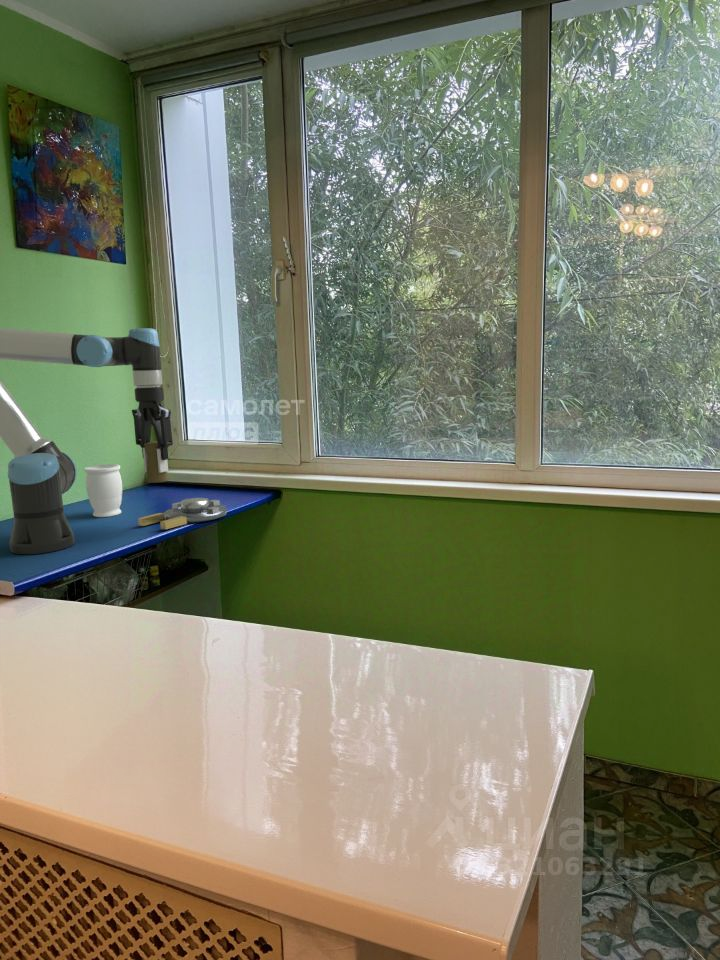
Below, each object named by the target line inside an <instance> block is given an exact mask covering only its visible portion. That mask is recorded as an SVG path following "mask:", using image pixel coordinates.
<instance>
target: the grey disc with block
mask: <svg viewBox="0 0 720 960" xmlns="http://www.w3.org/2000/svg"><path fill="white" fill-rule="evenodd" d="M171 506H172V508H170V509H169V508H168V509H167V510H165V511H164V512H158V513H154V514H149V515H146V516H142V517H137V520H138V521H137V523H138V526H142V527H144V526H148V525H152V524H156V523H159V522H160V523H159V524H160V529H161V530H168V529H172V528H176V527H180V526H183V525H187V524H189V523H190V524H191V523H199V522H207V521H212V520H213V521H214V520H216V519H221V518H222V517H225V516H226V515H227V506H225V505H222V504H221V502H220V500H219V499H211V500H209V498H205V497H191V498H185V499H183V500H180V502H179V501H178V502H173V503H171Z"/></svg>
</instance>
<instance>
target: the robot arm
mask: <svg viewBox="0 0 720 960" xmlns="http://www.w3.org/2000/svg"><path fill="white" fill-rule="evenodd" d="M160 348H161V346H160V340H159V333H158V331H157V330H156V329H154V328H149V327H148V328H147V327H146V328H145V327H143V328H131V329H129V331H128V336H123V337H122V336H121V337H118V336H117V337H116V336H113V337H109V336H108V337H106V336H101V335H96V334H90V335H88V334H74V333H65V332H64V333H63V332H55V331H54V332H51V331H43V330H30V329H16V328H5V327H0V360H6V361H7V360H8V361H23V362H33V363H35V362H36V363H46V364H62V365H74V366H75V365H76V366H85V367H87V366H88V367H92V368H101V367H117V366H131V367H132V377H133V378H132V379H133V386H135V389H134V399H135V401H136V402H137V403H138V406H137V407H138V408H135V409H132V410H131V414H132V416H133V425H134V437H135V445H137V446H139V447H140V448H141V452H142V453H141V454H142V458H143V464H144V465H143V466H144V471H145V472H147V453H146V452H145V445H146V443H148V442H151V438H152V437H151V436H152V427H153V430H154V436H155V438H156V441H157V443H158V446H159V447H157V458H158V469H159V472H166V471H167V472H169V464H168V463H169V462H168V459H169V454H168V453H169V452H168V448H169V447H171V446H173V434H172V433H173V432H172V424H171V413H172V411H171V409H170V408H169V409H168V408H164V406H163V403H162V401H163V400H165V393H164V387H163V386H161V385H163V384H164V382H163V373H162V360H161V349H160ZM0 438H1V440H2V441H3V442H4V444H5V445H6V447H7V448H8V449H9V450H10V451H11V453H12V454H13V456H14V458H12V459H11V460H10V461H9V462H8V464H7V478H8V482H9V491H10V497H11V503H12V505H11V506H12V511H13V512H12V513H13V526H12V531H11V534H10V535H11V536H10V539H9V550H10V552H11V553H13V554H18V555H36V554H37V555H39V554H45V553H50V552H51V553H52V552H57V551H61V550H64V549H66V548H69V547H72V546H73V545H74V544H75V541H76V540H75V533H74V532H73V529H72V528H71V526H70V523H69V521H68V520H67V517H66V516H65V511H64V503H63V495H64V494H65V493H66V492H68V491H69V490H70V489H71V487H73V485H74V483H75V482H76V479H77V467H76V466H77V465H76V463H75V462H74V460H73V459H72V458H71V456H69V455H68V454H67V453H65V452H62V451H61V450H60V448H59V447H58V446H57V445H56V443H55V442H54V441H53V440H52V439H49V438H45V437H43V436H42V434H41V432H39V430H38V429H37V427H36V426H35V425H34V423H33V422H32V421H31V419H30V417H29V416H28V415H27V414H26V412H25V411H24V410H23V408H22V407H21V405H20V404H19V403H18V401H17V400H16V399H15V397H14V396H13V395H12V393H11V391H9V390H8V388H7V387H6V386H5V384H4V383H3V382H2V380H1V379H0Z"/></svg>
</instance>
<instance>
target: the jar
mask: <svg viewBox="0 0 720 960" xmlns="http://www.w3.org/2000/svg"><path fill="white" fill-rule="evenodd" d="M120 469H121V465H120V464H113V463H112V464H111V463H107V464H97V465H91V466H86V467H84V469H83V470H84V472H85V473H86V476H85V477H86V478H85V489H86V493H87V494H86V495H87V496H88V500H89V504H90V506H91V508H92V509H93V513H92V516H93V517H94V518H108V517H114V516H118V515H120V514H122V510H121V509H120V507H121V504H122V501H123V481H122V476H121V473H120Z"/></svg>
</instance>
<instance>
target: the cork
mask: <svg viewBox="0 0 720 960" xmlns="http://www.w3.org/2000/svg"><path fill="white" fill-rule="evenodd" d="M157 447H159V446H158V443H157V440H153V441H151V440H150V442H148V443H146V445H145V452H146V453H147V471H146V483H149V484H151V483H152V484H155V483H158V484H159V483H164V482H168V481H169V475H168V471H166V472H159V469H158V458H157Z"/></svg>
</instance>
